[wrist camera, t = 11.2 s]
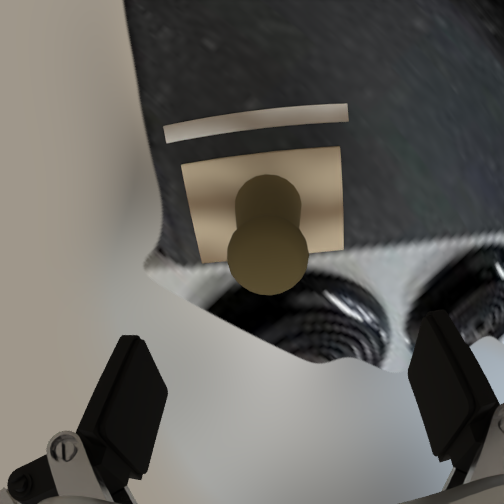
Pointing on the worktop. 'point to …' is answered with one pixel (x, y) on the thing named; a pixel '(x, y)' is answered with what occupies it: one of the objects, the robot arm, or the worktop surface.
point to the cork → (267, 236)
